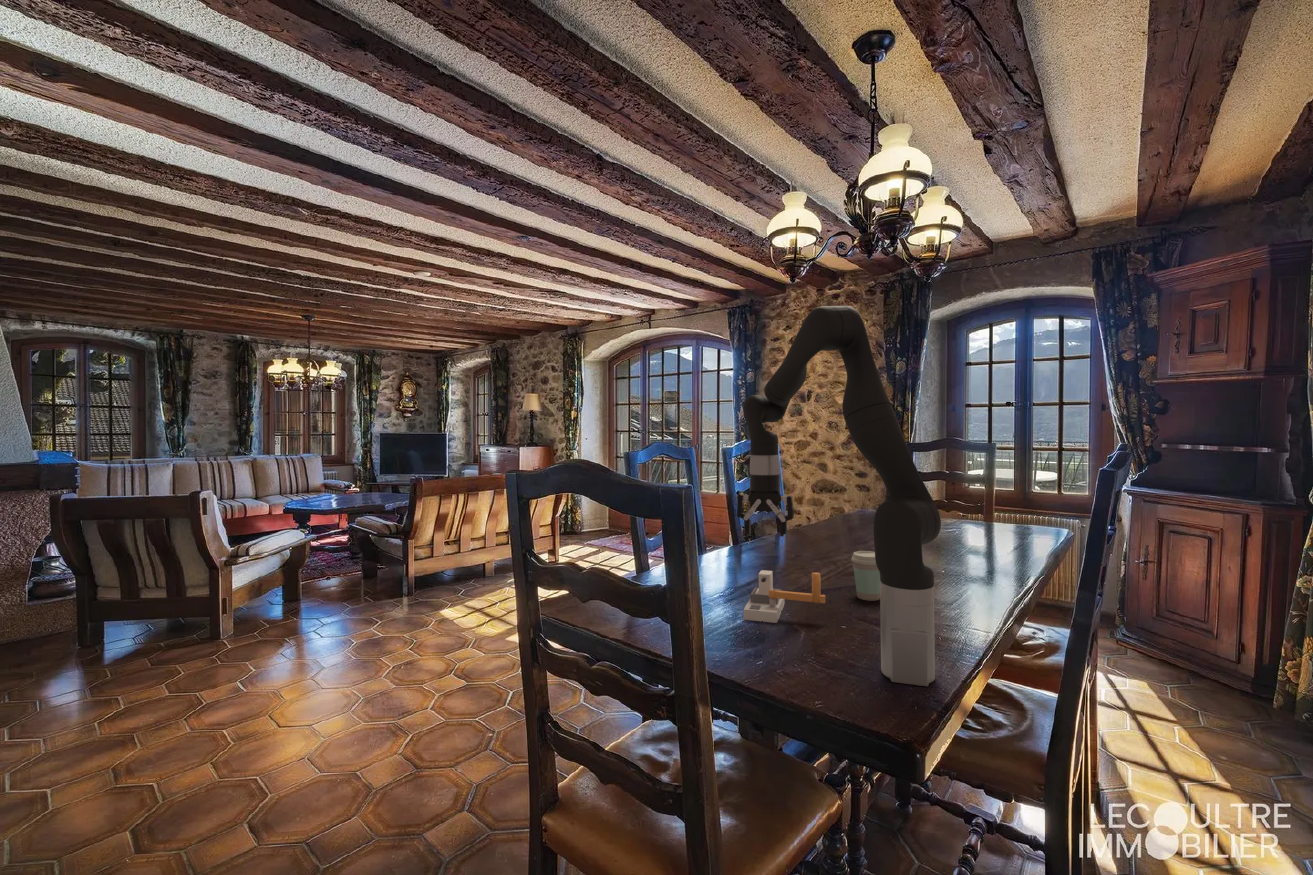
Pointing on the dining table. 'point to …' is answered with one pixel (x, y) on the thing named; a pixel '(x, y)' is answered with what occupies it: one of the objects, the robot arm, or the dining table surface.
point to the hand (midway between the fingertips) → (765, 535)
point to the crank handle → (813, 597)
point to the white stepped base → (763, 607)
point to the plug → (765, 582)
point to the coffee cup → (866, 575)
